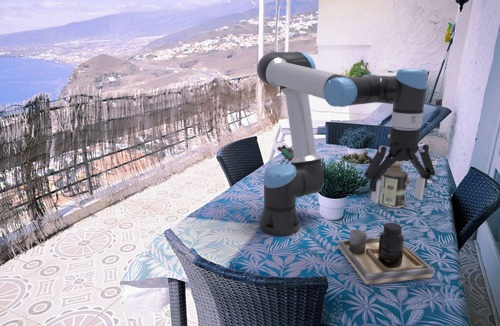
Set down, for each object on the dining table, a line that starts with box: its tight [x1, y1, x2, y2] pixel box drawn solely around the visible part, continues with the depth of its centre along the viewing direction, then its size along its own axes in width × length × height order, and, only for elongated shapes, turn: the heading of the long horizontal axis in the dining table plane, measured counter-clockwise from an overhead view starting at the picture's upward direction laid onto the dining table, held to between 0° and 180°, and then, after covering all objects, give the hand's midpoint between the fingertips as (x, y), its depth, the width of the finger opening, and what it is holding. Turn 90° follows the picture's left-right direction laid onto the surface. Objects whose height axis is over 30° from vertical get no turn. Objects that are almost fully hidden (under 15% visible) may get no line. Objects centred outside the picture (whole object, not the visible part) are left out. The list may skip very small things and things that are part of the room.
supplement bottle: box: [378, 222, 405, 268], centre depth 99 cm, size 7×7×12 cm
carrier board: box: [337, 229, 435, 285], centre depth 103 cm, size 20×20×7 cm
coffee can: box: [378, 168, 409, 209], centre depth 144 cm, size 10×10×14 cm
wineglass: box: [421, 156, 439, 184], centre depth 170 cm, size 7×7×12 cm
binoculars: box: [276, 144, 294, 164], centre depth 192 cm, size 14×14×15 cm
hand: (396, 200), depth 97 cm, fingers open, 13 cm apart
